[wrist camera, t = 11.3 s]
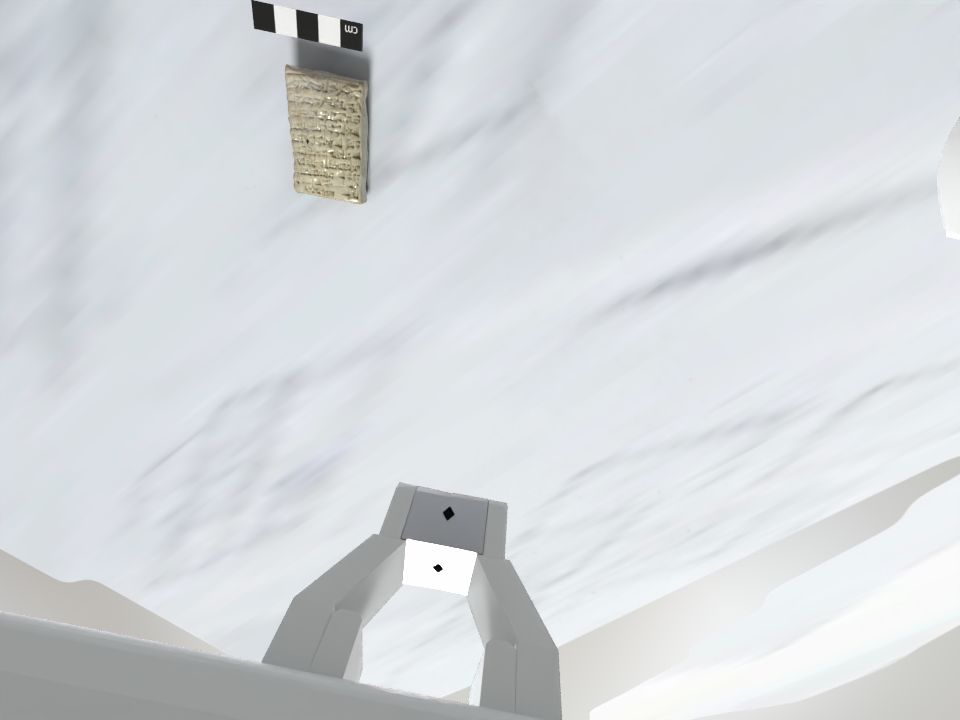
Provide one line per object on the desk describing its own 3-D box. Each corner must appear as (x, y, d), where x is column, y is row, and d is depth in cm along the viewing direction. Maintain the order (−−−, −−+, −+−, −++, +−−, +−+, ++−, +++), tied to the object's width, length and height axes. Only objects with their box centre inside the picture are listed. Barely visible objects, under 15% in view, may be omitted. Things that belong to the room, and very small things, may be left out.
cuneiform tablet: (362, 23, 26) (359, 215, 32) (382, 34, 29) (376, 203, 36) (251, -1, 25) (271, 197, 32) (285, 13, 29) (297, 187, 36)
